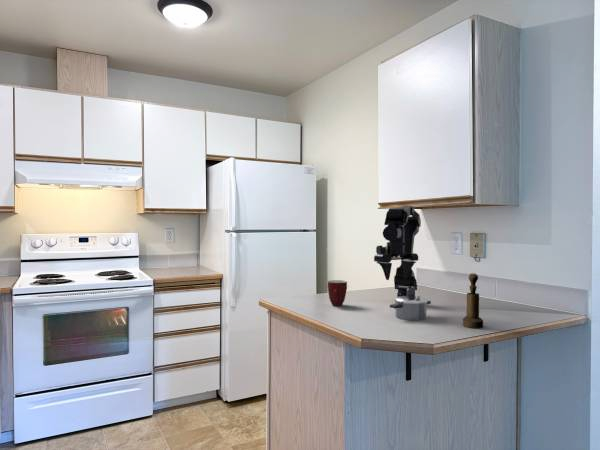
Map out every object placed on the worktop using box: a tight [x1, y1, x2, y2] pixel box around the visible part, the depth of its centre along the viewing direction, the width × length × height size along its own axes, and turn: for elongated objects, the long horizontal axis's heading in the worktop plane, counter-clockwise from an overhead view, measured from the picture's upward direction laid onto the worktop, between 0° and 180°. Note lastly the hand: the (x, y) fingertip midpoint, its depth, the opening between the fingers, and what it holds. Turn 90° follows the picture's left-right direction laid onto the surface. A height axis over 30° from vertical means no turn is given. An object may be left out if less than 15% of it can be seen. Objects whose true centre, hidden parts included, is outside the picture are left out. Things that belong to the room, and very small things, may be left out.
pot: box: [389, 299, 432, 322], centre depth 159 cm, size 18×11×6 cm, turn 121°
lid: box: [394, 286, 428, 304], centre depth 159 cm, size 12×12×5 cm
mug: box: [327, 279, 348, 307], centre depth 179 cm, size 10×8×10 cm
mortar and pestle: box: [462, 272, 484, 329], centre depth 147 cm, size 7×6×18 cm
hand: (396, 279), depth 170 cm, fingers open, 9 cm apart
